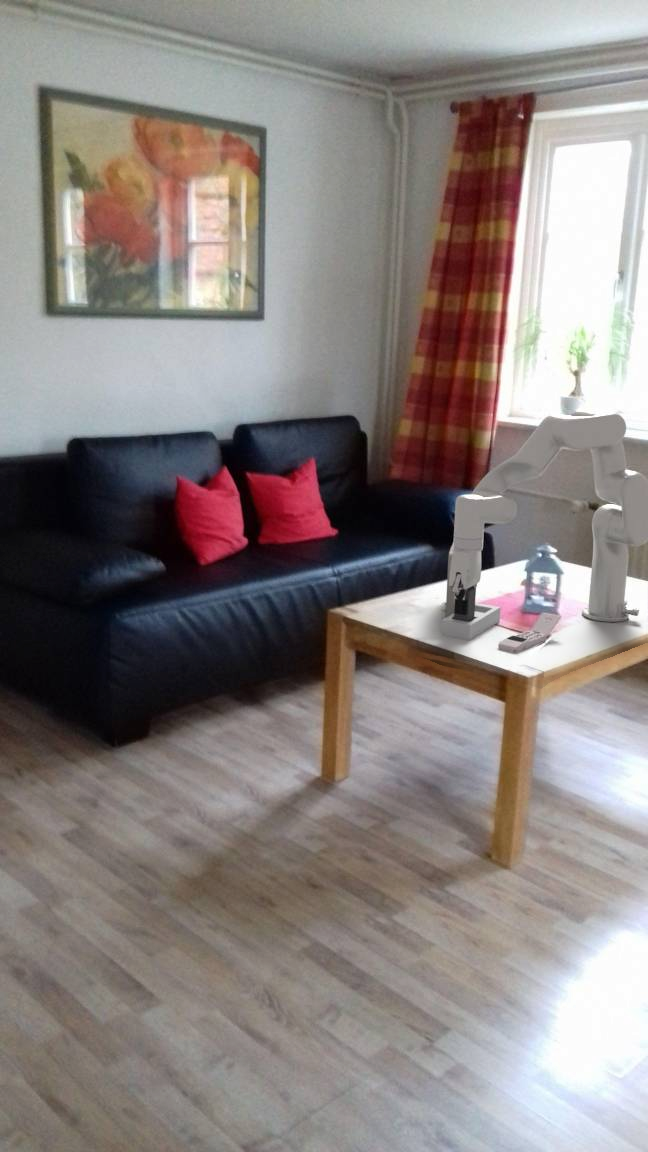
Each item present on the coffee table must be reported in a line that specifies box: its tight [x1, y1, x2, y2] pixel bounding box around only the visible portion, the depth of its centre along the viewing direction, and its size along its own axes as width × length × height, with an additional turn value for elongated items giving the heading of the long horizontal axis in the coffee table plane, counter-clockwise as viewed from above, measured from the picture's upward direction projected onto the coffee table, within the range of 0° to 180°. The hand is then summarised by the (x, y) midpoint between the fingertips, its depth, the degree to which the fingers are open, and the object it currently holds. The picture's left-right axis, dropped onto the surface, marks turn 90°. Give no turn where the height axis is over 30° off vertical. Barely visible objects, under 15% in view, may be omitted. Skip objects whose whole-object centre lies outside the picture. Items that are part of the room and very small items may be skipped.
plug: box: [454, 586, 477, 622], centre depth 266 cm, size 5×4×12 cm
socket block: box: [440, 602, 502, 641], centre depth 271 cm, size 8×20×5 cm, turn 148°
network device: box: [441, 541, 463, 618], centre depth 286 cm, size 26×9×20 cm, turn 168°
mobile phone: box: [497, 611, 562, 654], centre depth 261 cm, size 6×6×25 cm
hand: (464, 611), depth 266 cm, fingers closed on plug, 4 cm apart
